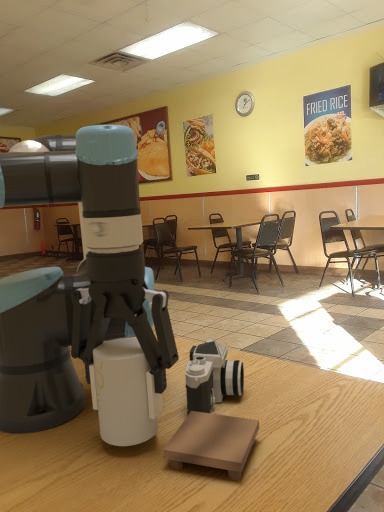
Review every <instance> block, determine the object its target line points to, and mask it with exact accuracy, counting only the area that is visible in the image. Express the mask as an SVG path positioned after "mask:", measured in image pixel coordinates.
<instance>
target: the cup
mask: <svg viewBox="0 0 384 512" xmlns="http://www.w3.org/2000/svg"><path fill="white" fill-rule="evenodd" d="M93 359H94V370H95V381H96V392H97V403H98V410H97V411H98V412H97V414H98V422H99V423H98V424H99V434H100V438H101V439H102V441H103V442H105V443H107V444H109V445H111V446H115V447H117V446H118V447H129V446H130V447H131V446H135V445H139V444H142V443H144V442H146V441H149V440H150V439H152V438H153V437H154V436H155V435H156V434H157V433H158V431H159V427H160V426H159V414H158V415H157V417H156V418H155V419H151V418H149V407H148V394H147V380H146V372H147V371H148V370H149V369H150V365H149V363H148V361H147V359H146V357H145V355H144V353H143V350H142V348H141V346H140V344H139V342H138V340H137V338H136V337H131V338H120V339H114V340H110V341H103V343H102V344H101V345H99V346H98V347H96V348H94V350H93Z"/></svg>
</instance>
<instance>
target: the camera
mask: <svg viewBox="0 0 384 512" xmlns="http://www.w3.org/2000/svg"><path fill="white" fill-rule="evenodd" d="M228 351H229V350H228V347H227V345H226V344H224V343H222V342H220V341H218V340H214V339H210V338H209V339H206V340H205V341H204V343H199V344H197V345H194V344H193V345H192V347H190V350H189V360H187V363H186V365H185V374H184V375H185V386H184V387H185V389H186V405H187V412H186V415H187V416H188V415H189V414H190V412H191V411H196V412H203V413H211V414H212V412H213V408H214V406H215V403H222V402H223V397H224V396H232V397H234V396H235V397H240V396H243V393H244V387H245V386H244V384H245V372H244V362H243V361H242V360H240V359H237V360H236V359H234V360H231V359H227V357H228Z"/></svg>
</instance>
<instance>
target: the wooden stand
mask: <svg viewBox="0 0 384 512" xmlns="http://www.w3.org/2000/svg"><path fill="white" fill-rule="evenodd" d="M259 430H260V420H259V419H256V418H255V419H254V418H247V417H239V416H238V417H237V416H232V415H231V416H230V415H225V414H218V413H217V414H216V413H212V412H211V413H203V412H196V411H191V412H190V414H189V415H187V416H186V418H185V419H184V420H183V422H182V423H181V424H180V426H179V428H177V430H176V431H175V433H174V434H173V435H172V437H171V438H170V439H169V441H168V442H167V444H166V445H165V446H164V447H163V449H162V452H163V453H162V454H163V459H166V460H170V462H169V463H170V468H171V469H173V470H180V469H182V468H183V466H184V463H187V464H194V465H198V466H204V467H208V468H209V467H211V468H215V469H222V470H227V478H228V479H230V480H231V481H239V480H241V479H242V472H243V470H244V467H245V466H246V465H245V464H246V462H247V459H248V458H249V454H250V452H251V450H252V447H254V446H256V437H257V435H258V432H259Z"/></svg>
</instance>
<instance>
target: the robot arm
mask: <svg viewBox="0 0 384 512" xmlns="http://www.w3.org/2000/svg"><path fill="white" fill-rule="evenodd" d="M134 131H135V130H133V129H132V128H131V127H130V126H127V125H123V124H122V125H121V124H93V125H88V126H82V127H81V128H79V129H78V130H77V131H76V133H75V134H47V135H41V136H36V137H33V138H28V139H26V140H23V141H19V142H18V143H16V144H14V145H13V146H11V148H10V149H9V151H7V152H0V209H2V208H4V207H5V208H6V207H20V206H21V207H24V206H35V205H49V204H50V205H52V204H54V205H55V204H73V203H76V204H78V213H79V214H78V215H79V222H80V223H79V225H80V232H81V243H82V253H83V259H82V260H81V261H80V263H79V264H78V266H77V269H76V273H75V274H67V275H64V271H63V270H62V268H61V267H59V266H50V267H46V266H45V267H40V268H35V269H29V270H26V271H22V272H18V273H14V274H10V275H8V276H5V277H2V278H0V432H2V433H7V434H12V435H13V434H16V435H18V434H21V435H22V434H30V433H32V434H33V433H37V432H42V431H46V430H49V429H52V428H54V427H55V428H56V427H58V426H60V425H62V424H65V423H67V422H68V421H71V420H72V419H74V418H75V417H76V416H78V415H79V414H80V413H81V412H82V411H83V410H84V409H85V407H86V404H87V403H86V391H85V386H84V385H83V383H82V382H81V381H80V377H79V376H78V372H77V371H76V367H75V366H74V363H73V361H72V358H73V359H79V360H81V361H82V363H83V364H84V370H85V371H84V372H85V380H86V384H87V385H90V389H91V401H92V402H91V403H92V409H93V410H94V411H95V410H96V411H98V403H97V392H96V381H95V370H94V359H93V350H94V348H96V347H98V346H99V345H101V344H102V343H104V342H107V341H110V340H114V339H120V338H137V340H138V342H139V344H140V346H141V348H142V350H143V353H144V355H145V357H146V359H147V361H148V363H149V365H150V369H149V370H148V371H147V372H146V380H147V394H148V407H149V418H151V419H155V418H156V417H157V415H158V416H159V415H160V413H161V412H162V411H163V409H164V406H163V393H164V392H165V391H166V389H167V386H168V385H167V384H168V383H167V370H169V369H171V368H172V367H173V366H174V365H175V364H176V363H177V362H178V361H179V358H180V357H179V352H178V348H177V344H176V339H175V335H174V330H173V326H172V321H171V317H170V314H169V309H168V305H169V296H170V294H169V292H168V291H167V290H166V289H165V290H161V291H157V290H155V277H154V270H153V269H152V268H151V267H148V266H146V265H145V252H144V251H145V249H143V248H142V247H140V246H141V245H142V244H143V242H144V236H143V233H144V232H143V223H142V213H141V202H140V200H141V199H140V183H139V165H138V162H139V161H138V157H139V151H138V148H137V142H136V141H137V140H136V133H135V132H134ZM153 327H154V330H155V333H154V330H153ZM155 334H156V335H155ZM70 347H71V348H70ZM71 357H72V358H71Z"/></svg>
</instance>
